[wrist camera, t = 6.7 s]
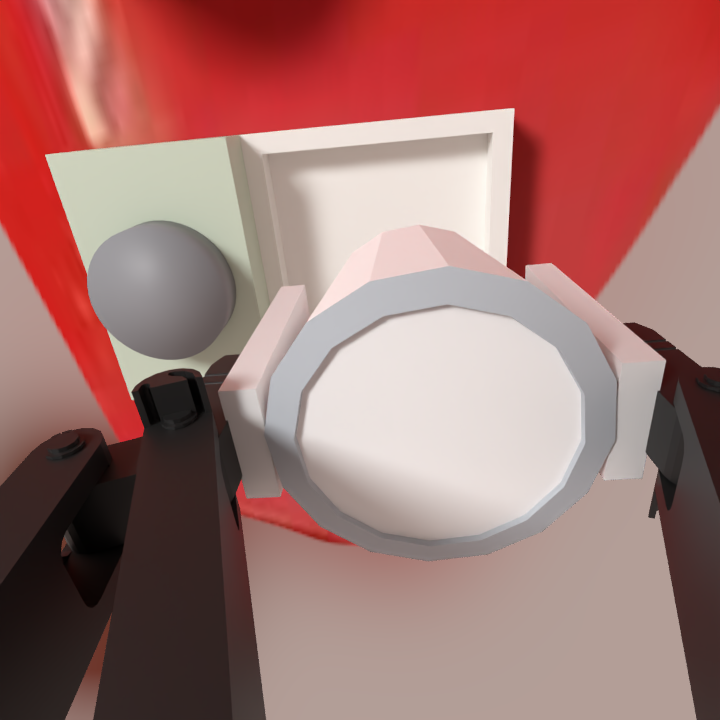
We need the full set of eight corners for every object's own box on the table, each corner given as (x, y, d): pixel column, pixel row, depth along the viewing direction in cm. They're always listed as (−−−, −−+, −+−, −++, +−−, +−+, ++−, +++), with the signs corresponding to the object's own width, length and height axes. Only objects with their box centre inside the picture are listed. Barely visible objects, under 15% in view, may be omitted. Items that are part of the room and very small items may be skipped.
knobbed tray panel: (99, 148, 28) (17, 157, 21) (503, 108, 26) (541, 106, 20) (164, 362, 34) (115, 418, 28) (493, 342, 32) (520, 396, 26)
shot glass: (315, 402, 17) (277, 562, 11) (303, 203, 14) (240, 267, 8) (508, 404, 17) (583, 569, 11) (538, 202, 14) (667, 267, 8)
